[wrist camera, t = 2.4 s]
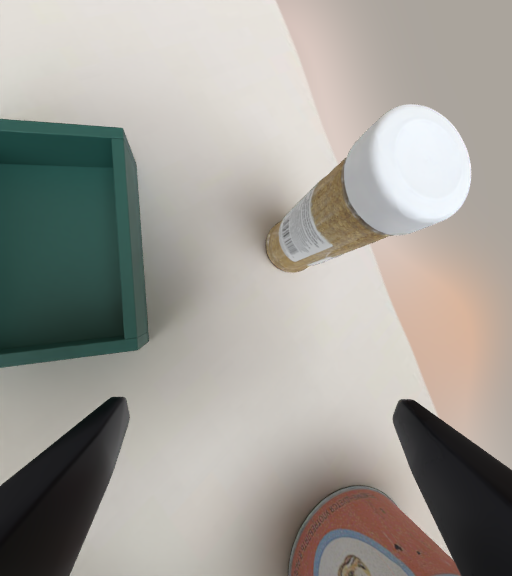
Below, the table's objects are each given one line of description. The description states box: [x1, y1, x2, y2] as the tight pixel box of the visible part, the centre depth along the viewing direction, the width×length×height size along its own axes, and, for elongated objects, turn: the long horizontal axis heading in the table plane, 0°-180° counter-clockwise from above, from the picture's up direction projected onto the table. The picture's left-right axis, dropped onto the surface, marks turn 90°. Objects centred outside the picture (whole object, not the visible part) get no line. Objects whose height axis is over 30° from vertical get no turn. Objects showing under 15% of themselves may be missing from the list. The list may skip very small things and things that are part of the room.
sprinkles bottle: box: [266, 104, 471, 272], centre depth 16 cm, size 5×5×13 cm
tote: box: [0, 119, 149, 368], centre depth 16 cm, size 13×11×4 cm
